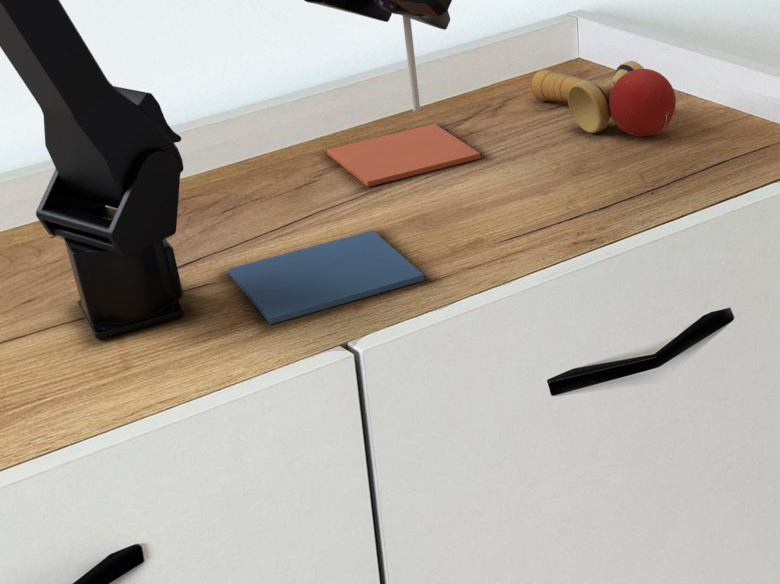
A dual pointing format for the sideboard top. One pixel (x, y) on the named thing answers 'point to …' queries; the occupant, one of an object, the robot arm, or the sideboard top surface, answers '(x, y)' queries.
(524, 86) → the sideboard top surface
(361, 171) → the terracotta pad
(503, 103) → the sideboard top surface
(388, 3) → the lollipop
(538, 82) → the kendama
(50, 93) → the robot arm
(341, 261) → the slate pad
